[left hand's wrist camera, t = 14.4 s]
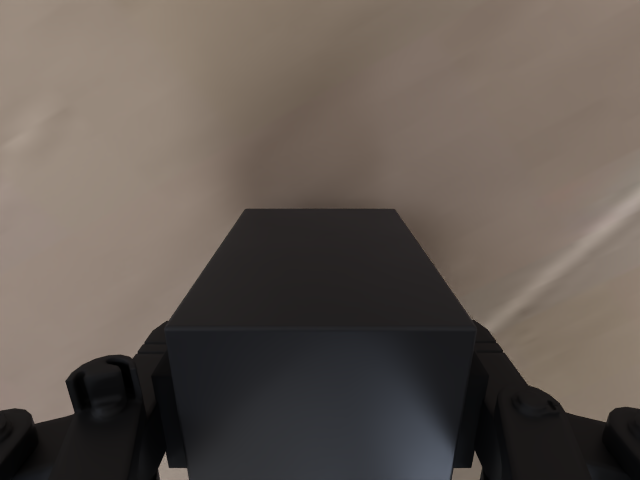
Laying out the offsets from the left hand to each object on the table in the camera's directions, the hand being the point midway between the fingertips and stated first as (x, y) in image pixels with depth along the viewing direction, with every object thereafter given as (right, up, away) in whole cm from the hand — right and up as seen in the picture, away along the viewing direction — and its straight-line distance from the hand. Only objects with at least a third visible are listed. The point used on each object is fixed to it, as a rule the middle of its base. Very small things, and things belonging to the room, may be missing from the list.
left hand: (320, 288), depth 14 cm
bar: (0, -9, +4) cm, 10 cm away
